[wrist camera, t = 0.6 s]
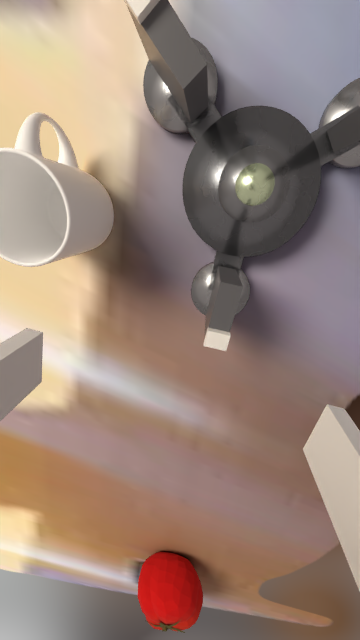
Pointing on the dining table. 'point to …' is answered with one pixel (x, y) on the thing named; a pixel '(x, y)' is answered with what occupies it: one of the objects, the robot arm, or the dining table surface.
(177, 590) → the tomato
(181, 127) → the tribrach
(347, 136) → the knob
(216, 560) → the dining table surface
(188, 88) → the knob
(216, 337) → the dark grey angled finger
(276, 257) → the dining table surface
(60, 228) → the mug
